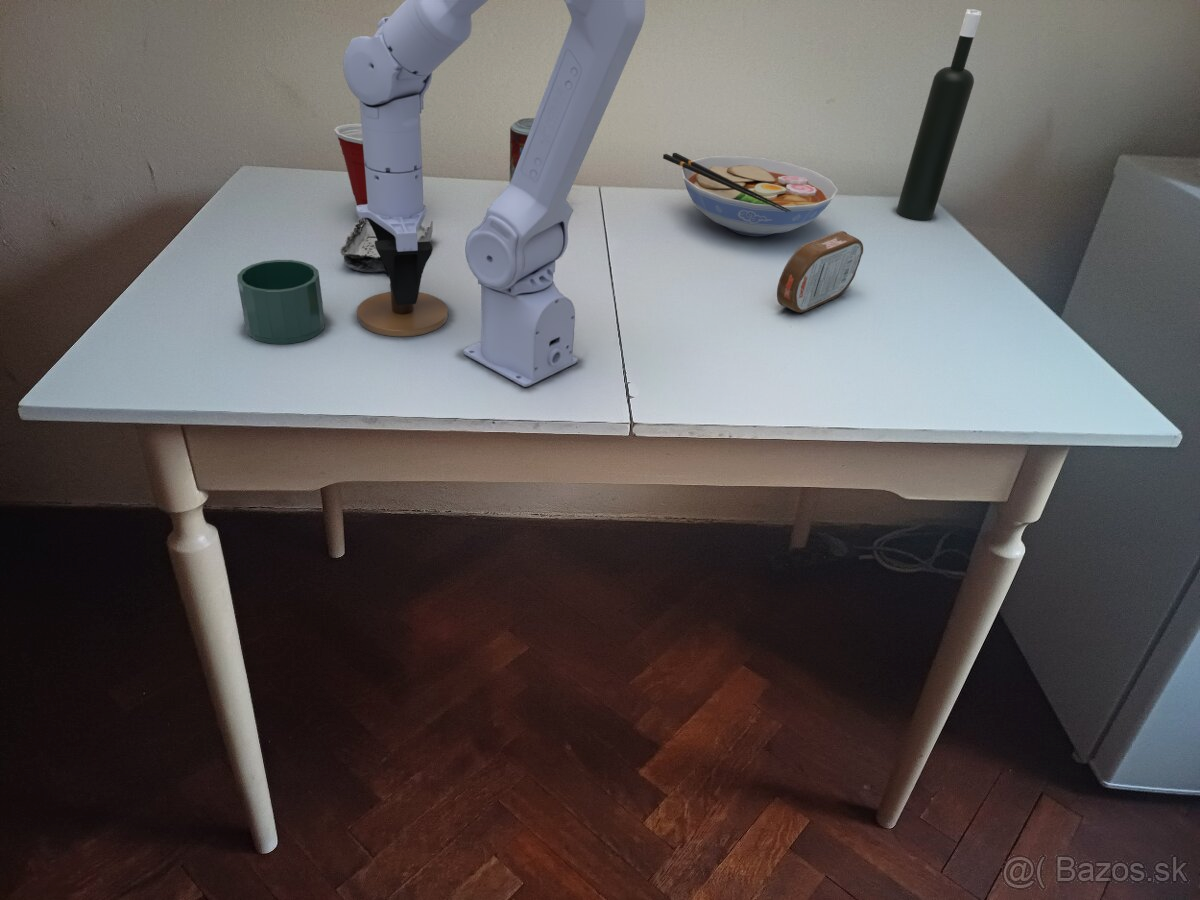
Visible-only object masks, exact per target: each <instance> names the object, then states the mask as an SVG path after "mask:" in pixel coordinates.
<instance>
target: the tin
mask: <svg viewBox="0 0 1200 900" xmlns="http://www.w3.org/2000/svg"><path fill="white" fill-rule="evenodd" d="M863 254H864V245H863V242H862V241H861V239H859V238H857V237H855V236H853V235H851V234H850V233H849V234H848V233H847V232H846V231H844V230H840V231H836V232H834V233H831V234H829V235H826V236H824V237H820V238H817V239H814V240H812V241H809V242H806V243H804V244H802V245H801V246H800V247H799V248H797V249H796V251H795V252H794V253H793V254H792V256H791V257H790V258H789V260H787V263H786V265H785V266H784V268H783V269H782V273H781V274H780V277H779V280H778V284H777V287H776V301H777V302H778V304H779V305H780V306H782V307H785V308H787V309H788V310H791V311H792V312H795V313H800V314H801V313H806V312H808V311H810V310H812V309H814V308H817V307H818V306H821V305H823V304H826V303H827V302H830V301H832V300H834V299H836V298H838V297H840V296H841V295H842V294H844V292H845V291H846V290H847V289H848V288H849V286H850V285H851V283H852V282H853V280H854V278H855V276H856V273H857V271H858V267H859V265H860V262H861V260H862V256H863Z"/></svg>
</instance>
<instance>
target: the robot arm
mask: <svg viewBox="0 0 1200 900" xmlns="http://www.w3.org/2000/svg"><path fill="white" fill-rule="evenodd" d="M488 1H489V0H404V1H403V2H402V3H401V4H400V5H399V7H398V8H396V10H395V11H393V13H392V14H391V15H390V16H385V17H382V18H381V19H380V20H379V21H378V23H377V27H378V29H377V30H376V32H375V34H374V35H373V36H369V35H361V36H355V37H353V38H352V39H350V42H349V45H348V46H347V48H346V49H345V51H344V55H343V61H342V67H343V74H344V78H345V81H346V84H347V86H348V88H349V90H350V91H351V93H353V96H355V97H356V99H358V101H359V112H360V123H361V126H362V138H363V151H364V164H365V176H366V189H367V201H368V204H366V205H358V206H357V205H356V206H355V210H356V215H357V218H367V220H368V222H369V223H370V225H371V227H372V229H373V231H374V233H375V235H376V238H377V241H375V247H376V250H377V252H378V254H379V255H380V257H381V259H382V261H383V265H384V268H385V271H386V273H385V274H386V276H388V278H389V282H390V283H391V287H392V292H393V295H394V298H395V301H396V303H397V305H408V304H416V302H417V298H418V294H419V292H420V289H421V283H422V277H423V273H424V270H425V267H426V265H427V263H428V261H429V258H430V257H431V256H432V253H433V247H434V246H433V243H432V241H431V242H430V241H427V242H417V231H418V229H419V227H420V226H422V224H423V222H424V220H425V218H426V216H427V206H426V205H425V201H424V197H425V196H424V178H423V177H424V175H423V174H424V173H423V172H424V171H423V153H422V151H423V149H422V127H421V114H422V111H423V110H424V98H425V97H424V96H425V94H426V92H427V90H428V89H429V87H430V85H431V82H432V78H433V72H434V71H435V70H436V69H437V68H438V67H439V66H440V65H442V64H443V63H444V62H445V61H446V60H447V59H448V58H449V57H450V56H451V55H452V54H453V53H455V51H456V50H457V49H459V47H461V46H462V45H463V44H464V43H465V42H466V41H467V40H468V39H470V38H469V37H470V36H471V34H472V28H473V23H472V15H473V14H474V13H476V12H477V11H478V10H479V9H480V8H481V7H482V6H483V5H485V4H486V3H487V2H488ZM563 1H564V3H565V5H566V8H567V10H568V13H569V16H570V19H571V22H570V24H569V27H568V29H567V32H566V35H565V37H564V41H563V43H562V46H561V48H560V51H559V54H558V56H557V59H556V61H555V64H554V67H553V69H552V72H551V74H550V77H549V80H548V81H547V82H548V83H547V85H546V88H545V91H544V93H543V96H542V98H541V101H540V104H539V106H538V108H537V112H536V114H535V116H534V118H535V119H534V122H533V124H532V127H531V129H530V132H529V135H528V137H527V140H526V143H525V145H524V148H523V151H522V153H521V156H520V158H519V161H518V164H517V166H516V169H515V172H514V174H513V177H512V179H511V182H510V181H509V184H508V185H507V187H506V188H505V189H504V190H503V191H502V192H501V193H500V195H499V196H498V197H497V198H495V200H494V201H493V202H492V203H491V204H490V205H489V207H488V208H487V210H486V212H485V214H484V218H483V220H482V221H481V222H480V224H479V225H477V226H475V227H474V228H473V229H472V230H471V231H470V232H469V233H468V235H467V237H466V240H465V245H464V253H465V260H466V263H467V265H468V267H469V270H470V271H471V273H472V275H473V276H474V277H475V278H476V280H477V284H478V285H479V286H480V317H481V318H480V327H481V328H480V333H481V336H480V338H481V340H480V342H477V343H475V344H473V345H471V346H468V347H466V348H464V349H463V354H464V355H465V356H467V357H468V358H470V359H472V360H474V361H476V362H477V363H480V364H481V365H483V366H485V367H487V368H489V369H491V370H492V371H494V372H496V373H498V374H500V375H501V376H503V377H505V378H507V379H508V380H511V381H512V382H514V383H516V384H518V385H520V386H522V387H527V388H528V387H530V386H532V385H534V384H536V383H538V382H540V381H542V380H544V379H546V378H548V377H551V376H552V375H555V374H556V373H559V372H560V371H562V370H565V369H566V368H568V367H570V366H573V365H575V364H577V363H578V357H577V356H575V355H573V353H574V339H575V325H576V324H575V323H576V310H575V306H574V304H573V302H572V301H571V299H569V298H568V297H567V296H565V294H563V293H562V292H561V291H560V290H559V289H558V287H557V286H556V284H555V282H554V273H555V272H556V261H557V260H559V259H560V258H561V257H562V256H563V255H564V254H565V252H566V250H567V248H568V244H569V243H568V242H569V230H568V229H569V223H570V220H571V218H572V215H573V213H574V209H573V207H572V206H571V204H570V203H569V202H568V200H567V199H568V197H569V194H570V192H571V190H572V187H573V185H574V183H575V180H576V178H577V176H578V174H579V171H580V169H581V167H582V165H583V163H584V160H585V157H586V155H587V153H588V152H589V149H590V146H591V144H592V142H593V140H594V137H595V134H596V133H597V130H598V128H599V126H600V124H601V121H602V119H603V116H604V114H605V112H606V110H607V108H608V105H609V104H610V101H611V99H612V96H613V95H614V92H615V89H616V87H617V85H618V83H619V80H620V78H621V76H622V74H623V71H624V69H625V66H626V65H627V62H628V60H629V59H630V55H631V53H632V51H633V50H634V49H633V48H634V46H635V44H636V42H637V39H638V37H639V35H640V33H641V31H642V28H643V24H644V21H645V18H646V0H563ZM390 283H389V284H390Z"/></svg>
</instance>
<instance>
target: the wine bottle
mask: <svg viewBox="0 0 1200 900" xmlns="http://www.w3.org/2000/svg"><path fill="white" fill-rule="evenodd" d="M982 13H983V11H982V10H978V9H975V8H974V9H973V8H971V9H970V8H966V11H965V14H964V17H963V21H962V24H961V26H960V27H961V28H960V31H959V33H958V34H959V35H958V36H959V37H958V40H957V44H956V47H955V50H954V53H953V54H954V55H953V56H952V57H953V58H952V61H951V64H950V66H946V67H945V66H944V67H943V68H941V69H939V70H938V71H937V72H936V73H935V75H934V76H933V79H932V83H931V87H930V89H929V94H928V97H927V100H926V104H925V108H924V111H923V115H922V118H921V121H920V125H919V129H918V133H917V135H916V139H915V143H914V146H913V150H912V154H911V156H910V161H909V164H908V167H907V172H906V174H905V179H904V182H903V185H902V190H901V193H900V196H899V200H898V204H897V207H896V210H895V211H896V213H897V215H900V217H904V218H905V219H906V218H907V219H910V220H915V221H929V220H931V219H932V218H933V217H934V214H935V210H936V207H937V204H938V201H939V197H940V195H941V191H942V188H943V185H944V182H945V178H946V175H947V171H948V168H949V166H950V162H951V159H952V156H953V153H954V149H955V146H956V144H957V143H956V142H957V139H958V136H959V132H960V130H961V126H962V123H963V120H964V116H965V113H966V110H967V107H968V104H969V101H970V97H971V94H972V90H973V88H974V84H975V77H974V75H973V73H972V72H971V71H970V70H968V69H966V65H967V64H966V63H967V62H968V59H969V55H970V51H971V48H972V44H973V41H974V38H975V37H976V35H977V31H978V26H979V24H980V20H981V17H982Z"/></svg>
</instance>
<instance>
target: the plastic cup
mask: <svg viewBox="0 0 1200 900" xmlns="http://www.w3.org/2000/svg"><path fill="white" fill-rule="evenodd" d="M333 132H334V134H335V136H336V137H337V139H338V142H339V146H340V148H341V153H342V155H343V159H344V163H345V166H346V171H347V175H348V179H349V183H350V186H351V191H352V194H353V197H354V199H355V204H356V206H358V205H366V204H368V201H367V189H366V176H365V164H364V151H363V138H362V126H361V122H360V123H347V124H343V125H342V124H341V125H337V126H336V127H335V128H334V129H333ZM366 219H367V218H364V220H366Z"/></svg>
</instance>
